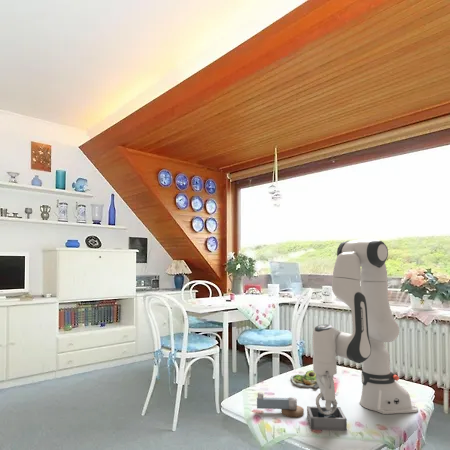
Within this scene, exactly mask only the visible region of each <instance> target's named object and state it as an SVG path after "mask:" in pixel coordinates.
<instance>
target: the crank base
mask: <svg viewBox="0 0 450 450" xmlns="http://www.w3.org/2000/svg"><path fill="white" fill-rule="evenodd" d="M280 410H281V412H282V413H281V414H282V415H283V416H284V415H285V417H287V418H300V417H302V416H303V417H304V413H305V412H304V411H305V410H304V408H303V407H302V406H300V405H297V409H296V410H290V409H280Z"/></svg>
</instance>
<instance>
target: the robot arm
mask: <svg viewBox="0 0 450 450" xmlns="http://www.w3.org/2000/svg"><path fill="white" fill-rule="evenodd" d="M336 256H337V257H336V259H335V262H334V266H333V272H332V280H331V290H332V293H333V295H334V296H335V297H336V298H337V299H338V300H339V301H341V302H343V303H344V304H345V305H346V306H348V308H349V309H350V311H351V318H352V319H351V320H352V333H350V332H349V333H348V332H346V331H342V330H338V329H336V328H335V327H334V326H333V325H331V324H330V323H329V324H328V323H326V324H325V323H323V324H319V325H317V326H315V327H314V328H313V332H312V351H313V357H312V366H313V367H312V370H313V372H314V373H316V380H317V384H318V386H319V387H318V388H319V391H320V393H321V392H322V394H323V396H322V397H321V398H320V399H321V401H325V403H324V404H325V406H324V407H325V408H326V410H331V407H332V401H335V399H336V390H335V389H336V387H335V381H334V376H335V375H336V374H337V372H338V371H337V370H338V369H337V357H340V358H343V359H347V360H349V361H351V362H354V363H356V364H361V363H362V369H361V383H362V387H361V389H362V390H361V397H360V400H359V403H360V404H359V405H360V406H361V407H363V408H366V409H368V410H371V411H374V412H378V413H380V414H382V415H390V414H392V415H394V414H409V413H418V406H417V405H416V403H414V402H413V401H412V400H411V396H410V394H409V392H408V391H407V390H406V389H405V388H404V387H403V386H402V385H400V384H399V382H398V381H399V380H400V377H399V376H398V375H397V374H395V373H393V372H392V371H391V365H390V364H391V363H390V361H391V360H390V352H389V350H388V349H387V348H386V347H387V346H386V345H385V343H391V342H392V343H393V342H394V341H395V340H396V339H397V338H398V337H399V335H400V326H399V324H398V323H397V321H396V320H395V318H394V315H393V312H392V309H391V306H390V302H389V290H388V289H389V287H388V272H387V267H386V262H387V260H388V256H389V250H388V246H387V245H386V243H385V242H384V241H382V240H378V239H357V240H346V241H343V242H340V244H339V245H338V246H337V250H336Z"/></svg>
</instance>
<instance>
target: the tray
mask: <svg viewBox="0 0 450 450" xmlns="http://www.w3.org/2000/svg"><path fill="white" fill-rule="evenodd" d="M320 407H321V409H322V410H323V411H328V410H326V408H325V406H320ZM332 407H333V406H331V409H332ZM318 411H319V409H318V408H317V406H309V405H308V406H306V416H307V421H308V424H309V426H310V429H311V430H321V431H323V430H325V431H348V422H347V421H348V420H347V417H346V416H345V413H344V412H343V410H342V408H341V407H339V406H337V408H336V410H335V411H334V413H332V414H333V415H334V416H335V418H328V417H318ZM329 411H330V410H329Z"/></svg>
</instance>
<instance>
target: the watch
mask: <svg viewBox="0 0 450 450" xmlns="http://www.w3.org/2000/svg"><path fill="white" fill-rule="evenodd" d="M322 396H323V394H322V392H320V393H318V394H317V396H316V398H315V405H316V406H315V407H317V408H318V409H319V411H318V417H328V418H335V416H334V415H333V414H332V413H334V411H335V410H336V408H337V407H338V406H337V405H338V401H337V399H336V398H335V401H332V403H331V407H332V409H331V410H330V411H329V410H328V411H323V410H322V409H321V407H322V406H321V405H320V399H321V397H322Z"/></svg>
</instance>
